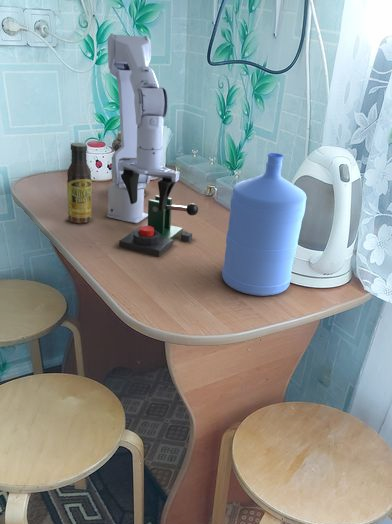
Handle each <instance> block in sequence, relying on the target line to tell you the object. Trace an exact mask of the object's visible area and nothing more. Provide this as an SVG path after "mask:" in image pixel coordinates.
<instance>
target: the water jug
mask: <svg viewBox="0 0 392 524" xmlns="http://www.w3.org/2000/svg"><path fill="white" fill-rule="evenodd" d="M284 157H285V156H284V154H281V153H278V152H269V153H267V161H266V164H265V166H266V167H265V172H264V173H263V174H261V175H258V176H254V177H251V178H248V179H244V180H242V181H238V182H237V183H236V184H234V186H233V188H232V194H231V197H230V204H229V205H230V211H229V217H228V227H227V232H226V238H225V252H224V260H223V265H222V270H221V277H222V279H223V281H224V283H225V284H226V285H227V286H229V287H230V288H231V289H234V290H235V291H237V292H240V293H243V294H246V295H252V296H259V297H260V296H261V297H269V296H274V295H275V296H276V295H278V294H281V293H283V292H285V291H286V290H287V289H288V288H289V286H290V284H291V281H292V272H293V267H294V263H295V257H296V254H297V250H298V244H299V238H300V233H301V228H302V224H303V223H302V222H303V219H304V216H305V212H306V204H307V203H306V202H307V194H306V192H305V191H304V190H303V189H301V188H300V187H298V186H297V185H295V184H293V183H292V182H290V181H289V180H287V179H285V178H284V177H282V175H281V174H282V173H281V171H282V168H283V159H284Z"/></svg>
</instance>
